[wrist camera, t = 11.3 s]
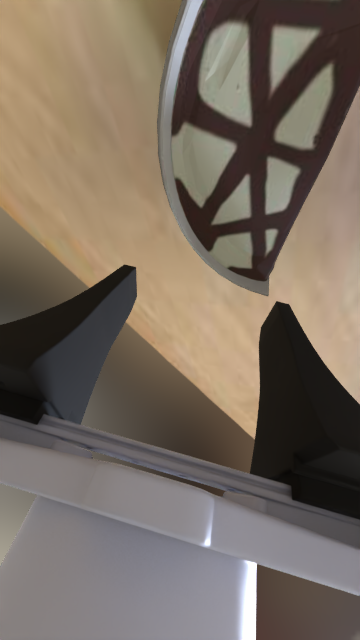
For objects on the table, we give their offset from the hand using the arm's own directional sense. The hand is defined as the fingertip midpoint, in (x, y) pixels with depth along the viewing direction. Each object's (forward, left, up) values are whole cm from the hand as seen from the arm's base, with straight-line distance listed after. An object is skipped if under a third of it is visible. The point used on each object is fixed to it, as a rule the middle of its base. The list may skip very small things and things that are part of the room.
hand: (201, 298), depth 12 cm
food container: (0, -7, -10) cm, 12 cm away
